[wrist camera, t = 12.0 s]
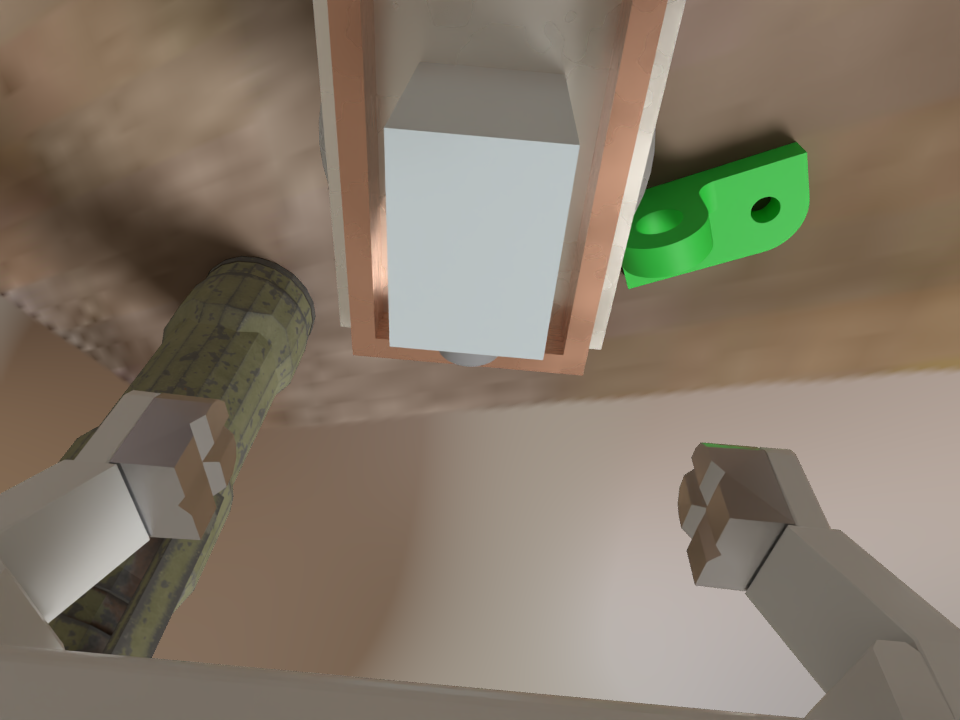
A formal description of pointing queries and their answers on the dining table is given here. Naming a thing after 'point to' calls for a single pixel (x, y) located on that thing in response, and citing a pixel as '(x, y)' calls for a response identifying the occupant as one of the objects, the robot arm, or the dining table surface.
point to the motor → (503, 45)
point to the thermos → (248, 396)
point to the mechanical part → (717, 215)
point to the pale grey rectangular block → (477, 209)
